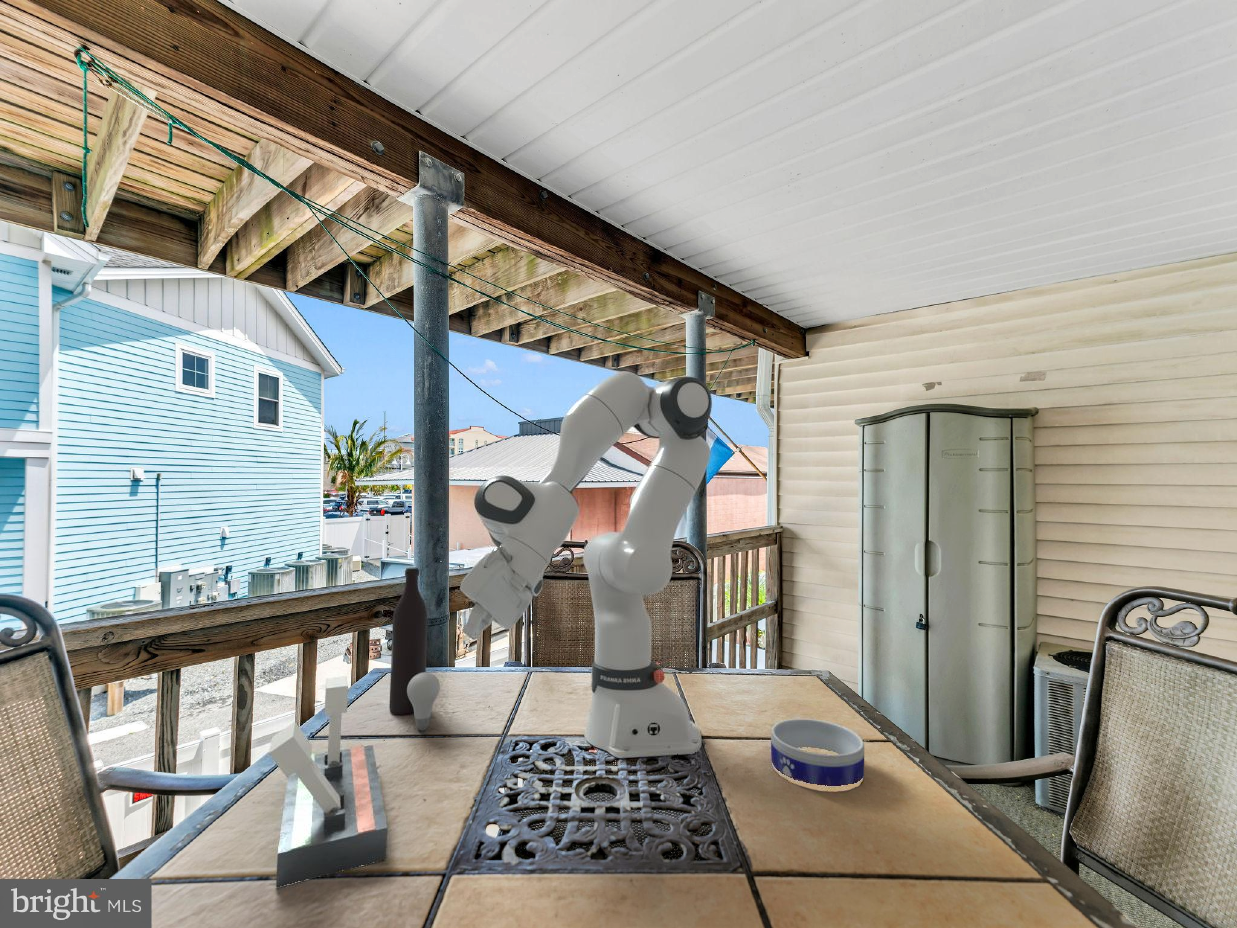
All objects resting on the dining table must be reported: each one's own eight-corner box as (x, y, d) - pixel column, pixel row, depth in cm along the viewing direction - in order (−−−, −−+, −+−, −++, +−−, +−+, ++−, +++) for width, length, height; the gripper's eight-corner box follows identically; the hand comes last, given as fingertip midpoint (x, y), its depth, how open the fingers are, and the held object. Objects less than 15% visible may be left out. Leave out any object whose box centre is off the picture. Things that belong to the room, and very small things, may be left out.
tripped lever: (343, 757, 90) (347, 675, 91) (344, 771, 86) (348, 685, 86) (322, 760, 89) (326, 678, 89) (322, 775, 84) (325, 688, 85)
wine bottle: (415, 700, 126) (420, 565, 127) (430, 709, 121) (435, 568, 122) (383, 708, 121) (389, 567, 122) (397, 718, 116) (403, 571, 117)
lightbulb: (443, 724, 113) (445, 668, 114) (430, 737, 107) (432, 678, 108) (414, 722, 114) (416, 667, 115) (399, 735, 108) (401, 677, 109)
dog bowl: (754, 770, 98) (754, 734, 98) (794, 742, 109) (794, 710, 109) (843, 805, 87) (843, 765, 87) (877, 770, 98) (877, 735, 99)
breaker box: (371, 769, 95) (373, 736, 95) (386, 860, 72) (387, 816, 72) (289, 784, 90) (290, 749, 90) (275, 888, 66) (278, 841, 67)
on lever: (347, 793, 78) (295, 721, 75) (348, 812, 73) (293, 736, 71) (326, 809, 76) (272, 737, 74) (326, 829, 72) (268, 753, 69)
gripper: (516, 551, 88) (461, 629, 83) (544, 592, 105) (500, 658, 100) (485, 533, 90) (429, 608, 85) (517, 576, 108) (473, 641, 102)
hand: (468, 636), depth 92 cm, fingers closed
